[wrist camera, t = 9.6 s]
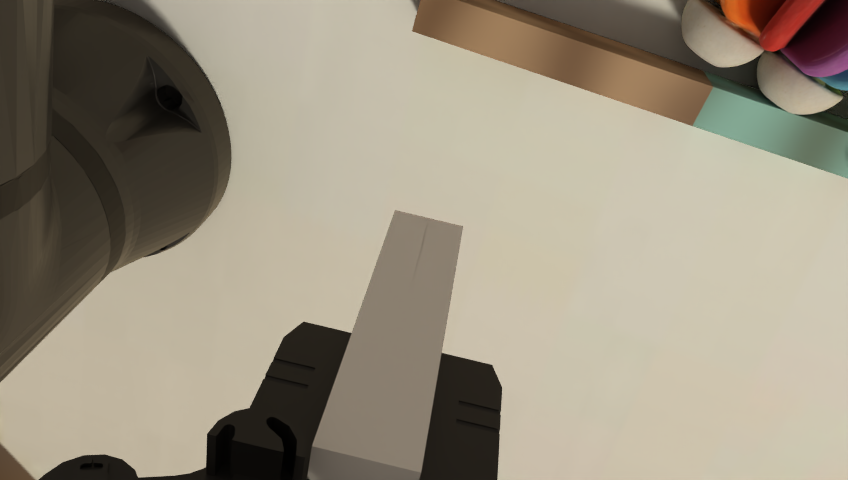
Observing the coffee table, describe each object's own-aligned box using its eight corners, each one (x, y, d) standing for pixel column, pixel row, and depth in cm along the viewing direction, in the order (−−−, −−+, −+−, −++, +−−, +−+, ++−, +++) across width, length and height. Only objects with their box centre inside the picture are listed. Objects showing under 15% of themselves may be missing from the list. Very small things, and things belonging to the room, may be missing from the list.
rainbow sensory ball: (779, -167, 28) (842, -167, 22) (959, -41, 29) (1066, -8, 23) (647, 14, 33) (669, 56, 26) (808, 117, 34) (865, 180, 28)
